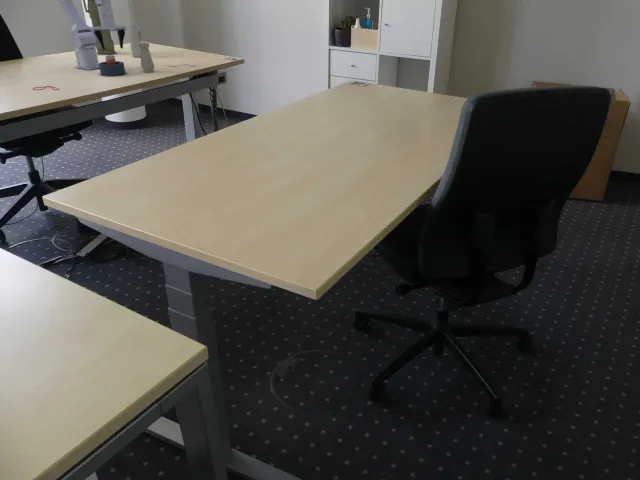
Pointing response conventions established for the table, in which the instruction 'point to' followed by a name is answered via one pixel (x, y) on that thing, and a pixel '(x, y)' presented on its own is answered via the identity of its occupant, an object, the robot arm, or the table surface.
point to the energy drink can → (135, 39)
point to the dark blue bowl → (112, 69)
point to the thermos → (106, 34)
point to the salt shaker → (146, 57)
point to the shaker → (110, 60)
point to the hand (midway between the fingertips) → (112, 48)
